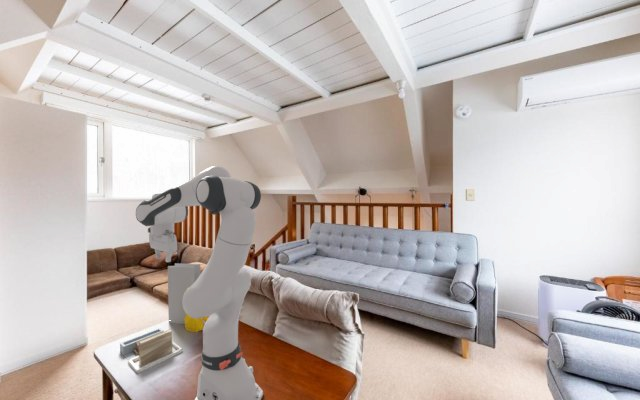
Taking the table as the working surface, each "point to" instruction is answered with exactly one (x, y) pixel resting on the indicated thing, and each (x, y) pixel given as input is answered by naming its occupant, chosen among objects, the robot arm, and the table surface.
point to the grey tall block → (180, 288)
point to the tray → (137, 370)
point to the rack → (129, 345)
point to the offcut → (136, 352)
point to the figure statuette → (194, 323)
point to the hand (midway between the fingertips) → (163, 260)
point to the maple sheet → (155, 347)
